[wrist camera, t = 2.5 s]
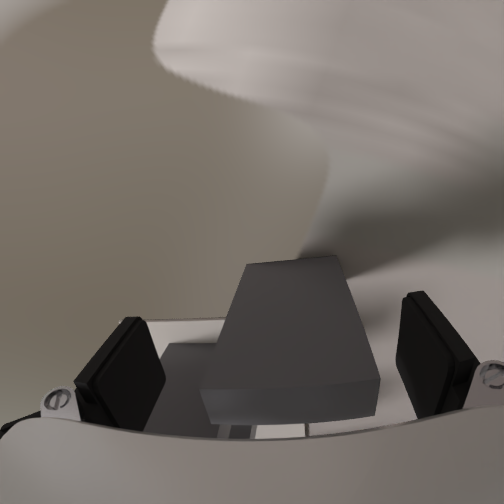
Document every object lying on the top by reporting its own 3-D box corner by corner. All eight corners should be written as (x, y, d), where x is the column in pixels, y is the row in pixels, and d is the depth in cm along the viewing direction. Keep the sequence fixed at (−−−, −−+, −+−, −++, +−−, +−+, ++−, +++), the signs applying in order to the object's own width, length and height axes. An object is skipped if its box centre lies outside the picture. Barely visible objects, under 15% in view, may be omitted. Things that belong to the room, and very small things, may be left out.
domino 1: (168, 343, 20) (101, 458, 10) (242, 342, 19) (204, 479, 9) (175, 361, 20) (116, 476, 11) (245, 361, 19) (214, 495, 10)
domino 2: (246, 264, 17) (198, 388, 8) (336, 255, 17) (380, 378, 7) (250, 289, 18) (211, 424, 8) (337, 281, 17) (374, 415, 8)
